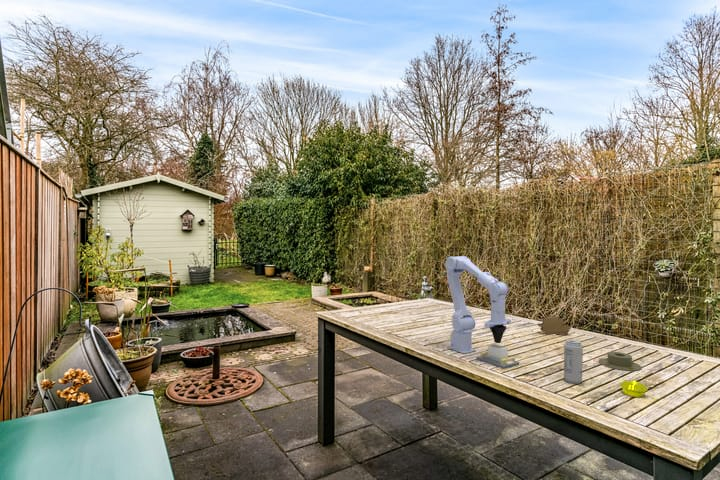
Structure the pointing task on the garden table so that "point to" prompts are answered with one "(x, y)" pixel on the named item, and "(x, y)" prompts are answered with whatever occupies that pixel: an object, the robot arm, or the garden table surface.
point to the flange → (620, 362)
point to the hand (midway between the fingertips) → (497, 342)
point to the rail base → (498, 361)
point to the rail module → (497, 352)
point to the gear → (633, 388)
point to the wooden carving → (554, 325)
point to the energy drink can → (573, 361)
